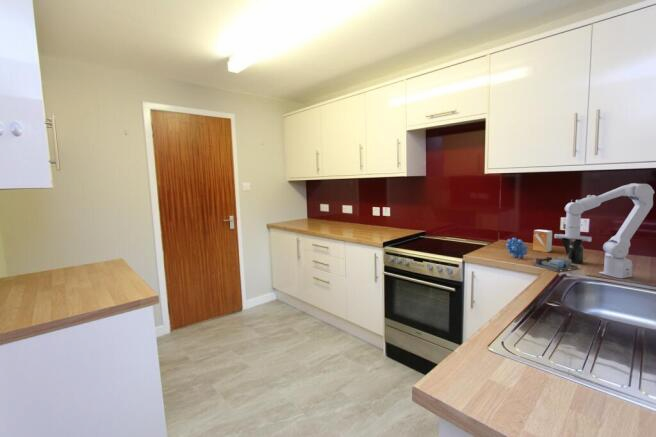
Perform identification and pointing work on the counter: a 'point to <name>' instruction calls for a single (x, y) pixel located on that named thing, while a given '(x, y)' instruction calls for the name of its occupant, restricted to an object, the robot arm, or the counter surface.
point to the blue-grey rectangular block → (557, 262)
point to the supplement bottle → (579, 256)
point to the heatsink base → (549, 266)
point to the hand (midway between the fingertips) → (571, 253)
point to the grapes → (516, 247)
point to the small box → (542, 240)
